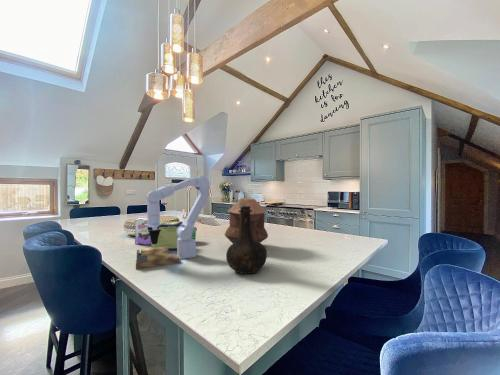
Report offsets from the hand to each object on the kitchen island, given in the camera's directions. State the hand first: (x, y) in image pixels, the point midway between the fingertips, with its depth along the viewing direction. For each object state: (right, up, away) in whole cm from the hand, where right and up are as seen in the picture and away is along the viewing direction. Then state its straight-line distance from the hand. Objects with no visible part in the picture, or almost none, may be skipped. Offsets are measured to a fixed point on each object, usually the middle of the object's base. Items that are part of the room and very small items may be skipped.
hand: (153, 242), depth 116 cm
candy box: (-20, -10, +38) cm, 44 cm away
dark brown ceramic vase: (+46, -9, -14) cm, 49 cm away
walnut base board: (+3, -9, -4) cm, 11 cm away
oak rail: (+2, -7, -4) cm, 8 cm away
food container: (+9, -10, +39) cm, 41 cm away
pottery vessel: (+46, -9, +23) cm, 52 cm away
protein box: (-2, -10, +25) cm, 27 cm away
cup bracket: (-3, -7, -7) cm, 10 cm away
